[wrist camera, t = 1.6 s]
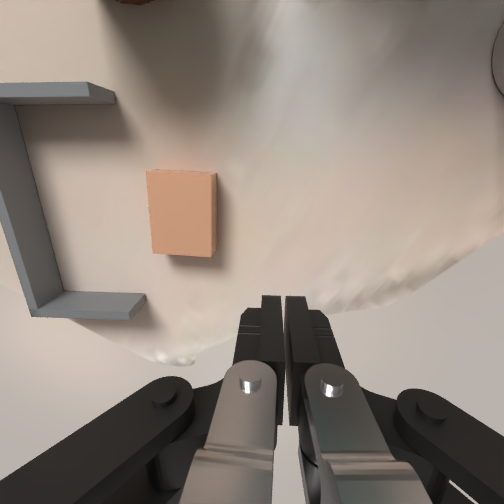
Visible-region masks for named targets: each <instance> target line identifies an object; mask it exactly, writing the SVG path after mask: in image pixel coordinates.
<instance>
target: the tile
mask: <svg viewBox="0 0 504 504" xmlns="http://www.w3.org/2000/svg"><path fill="white" fill-rule="evenodd" d="M146 177H147V189H148V201H149V213H150V225H151V237H152V249H153V253H155V254H170V255H185V256H199V257H212V255H213V254H214V252H215V250H216V198H217V173H213V172H195V171H177V170H159V169H157V170H151V171H146Z"/></svg>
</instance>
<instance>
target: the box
mask: <svg viewBox="0 0 504 504" xmlns="http://www.w3.org/2000/svg"><path fill="white" fill-rule="evenodd" d="M46 104H116V102H115V95H114V91H111V90H108V89H105V88H103V87H100V86H97V85H94V84H92V83H89V82H41V83H0V222H1V225H2V228H3V231H4V234H5V237H6V240H7V243H8V246H9V249H10V252H11V255H12V258H13V262H14V265H15V268H16V271H17V274H18V277H19V280H20V283H21V286H22V289H23V292H24V295H25V298H26V301H27V305H28V308H29V311H30V314H31V316H32V317H53V318H80V319H107V320H131V319H132V317H133V316H134V315H135V314H136V313H137V311H138V310H139V309H140V308H141V306H142V305H143V304H144V303H145V301H146V298H145V294H142V293H109V292H77V291H64V290H63V286H62V283H61V279H60V275H59V271H58V268H57V264H56V260H55V256H54V253H53V249H52V245H51V242H50V238H49V234H48V230H47V227H46V223H45V219H44V215H43V212H42V208H41V204H40V200H39V197H38V193H37V189H36V185H35V182H34V178H33V174H32V171H31V167H30V163H29V159H28V156H27V152H26V148H25V144H24V141H23V137H22V133H21V129H20V126H19V122H18V118H17V114H16V111H15V107H14V105H46Z"/></svg>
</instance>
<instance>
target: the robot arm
mask: <svg viewBox="0 0 504 504" xmlns="http://www.w3.org/2000/svg"><path fill="white" fill-rule="evenodd" d="M492 65H493V74H494V78H495V82H496V84H497V86H498V88H499V89H500V91H501V93H502V94H503V95H504V23H503V24H502V26H501V28H500V30H499V33H498V36H497V39H496V42H495V45H494V51H493V57H492ZM285 369H286V383H287V397H288V410H289V423H290V426H291V425H292V426H298V431H299V449H298V455H299V462H300V469H301V475H302V482H303V488H304V495H305V501H306V504H474V503H473V502H472V501H470V500H469V499H468V498H467V497H465V496H464V495H463V494H462V493H461V492H460V491H458V490H457V489H456V488H455V487H454V486H452V485H451V484H450V483H449V480H451V481H452V482H454V483H455V484H456V485H457V486H458V487H460V488H461V489H462V490H463V491H464V492H466V493H467V494H468V495H469V496H470V497H472V498H473V499H474V500H475V501H476V502H478V503H479V504H504V436H502V435H500V434H499V433H497V432H496V431H494V430H492V429H491V428H489V427H488V426H486V425H485V424H483V423H482V422H480V421H478V420H477V419H475V418H474V417H472V416H471V415H469V414H467V413H466V412H464V411H463V410H461V409H460V408H458V407H457V406H455V405H453V404H452V403H450V402H449V401H447V400H446V399H444V398H442V397H441V396H439V395H437V394H435V393H432V392H429V391H426V390H422V389H407V390H404V391H402V392H401V393H400V394H399V395H398V397H397V400H395V399H391V398H388V397H385V396H382V395H378V394H375V393H372V392H370V391H368V390H366V389H364V388H362V387H360V385H359V383H358V381H357V379H356V378H355V377H354V375H352V374H351V373H350V372H349V371H348V370H346V369H345V367H344V364H343V361H342V358H341V355H340V352H339V349H338V347H337V344H336V341H335V338H334V335H333V332H332V330H331V326H330V323H329V320H328V318H327V317H326V316H325V315H324V314H323V313H322V312H321V311H320V310H308V306H307V302H306V298H305V296H286V299H285V317H284V332H283V319H282V306H281V296H270V295H262V305H261V308H247V309H246V310H245V311H244V313H243V314H242V315H241V318H240V324H239V330H238V336H237V342H236V347H235V353H234V359H233V365H232V367H230V368H229V369H228V370H227V372H226V374H225V376H224V378H223V379H222V380H220V381H218V382H217V383H214V384H211V385H208V386H204V387H199V388H195V389H192V386H191V385H190V383H189V382H188V381H187V380H185V379H183V378H181V377H175V376H168V377H162V378H159V379H157V380H154V381H152V382H150V383H149V384H147V385H146V386H144V387H143V388H141V389H140V390H138V391H136V392H135V393H133V394H132V395H130V396H129V397H127V398H126V399H124V400H123V401H121V402H120V403H118V404H117V405H115V406H114V407H112V408H111V409H109V410H107V411H106V412H104V413H103V414H101V415H100V416H98V417H97V418H95V419H94V420H92V421H91V422H89V423H88V424H86V425H85V426H83V427H82V428H80V429H78V430H77V431H75V432H74V433H72V434H71V435H69V436H68V437H66V438H65V439H64V440H62V441H60V442H59V443H57V444H56V445H54V446H53V447H51V448H49V449H48V450H47V451H45V452H43V453H42V454H40V455H39V456H37V457H36V458H34V459H33V460H31V461H30V462H28V463H27V464H25V465H24V466H22V467H21V468H19V469H17V470H16V471H14V472H13V473H12V474H10V475H8V476H7V477H5V478H4V479H2V480H1V481H0V504H271V503H272V482H273V461H274V450H275V448H276V444H277V426H278V425H282V422H283V402H284V383H285Z"/></svg>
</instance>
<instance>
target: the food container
mask: <svg viewBox="0 0 504 504" xmlns="http://www.w3.org/2000/svg"><path fill="white" fill-rule="evenodd" d="M117 1H119V2H121V3H125V4H135V5H142V4H145V3H148V2H151V1H154V0H117Z"/></svg>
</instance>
